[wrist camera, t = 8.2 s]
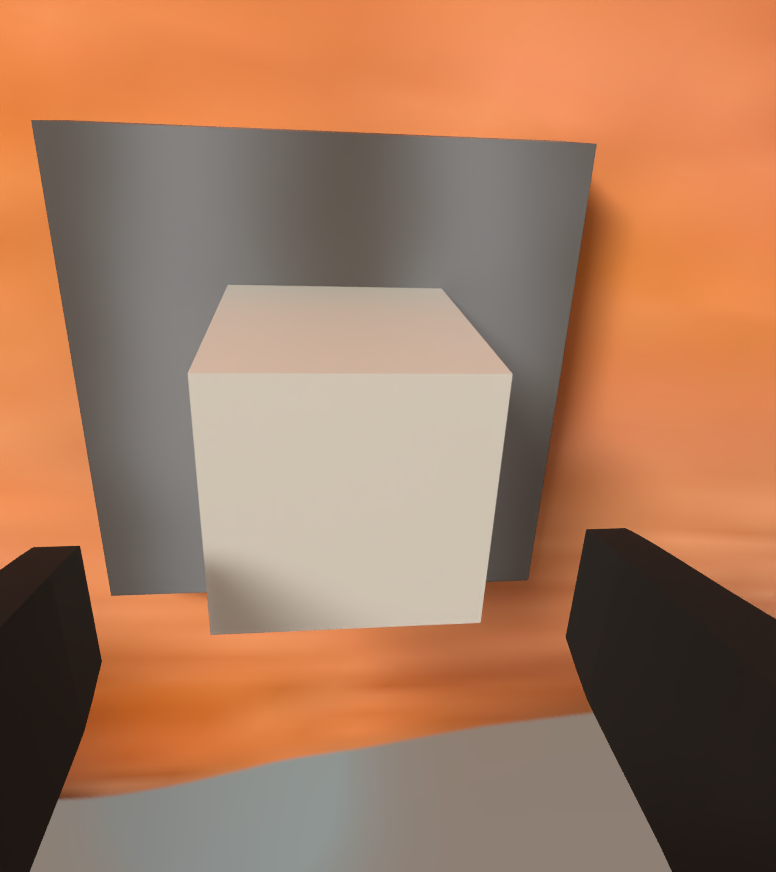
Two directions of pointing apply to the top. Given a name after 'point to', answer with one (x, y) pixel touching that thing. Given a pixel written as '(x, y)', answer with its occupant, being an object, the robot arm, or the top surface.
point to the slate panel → (292, 266)
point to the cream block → (345, 458)
